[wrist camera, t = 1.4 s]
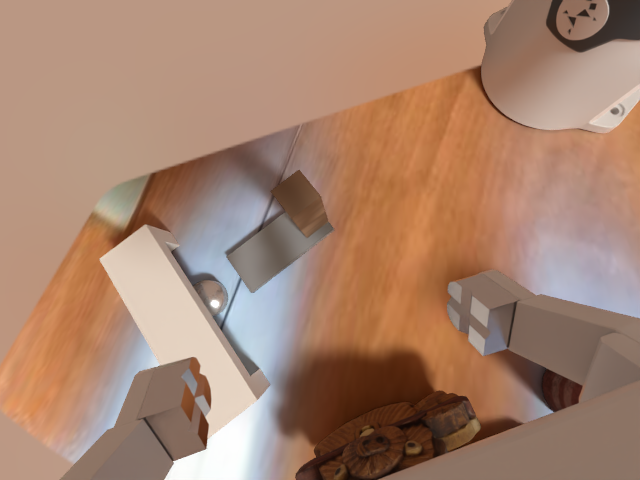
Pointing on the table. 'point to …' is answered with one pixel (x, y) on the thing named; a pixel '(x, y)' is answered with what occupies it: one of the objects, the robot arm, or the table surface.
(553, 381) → the can
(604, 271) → the table surface
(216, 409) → the low shelf
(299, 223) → the brown l-shaped block
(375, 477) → the wooden carving
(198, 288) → the steel bowl
